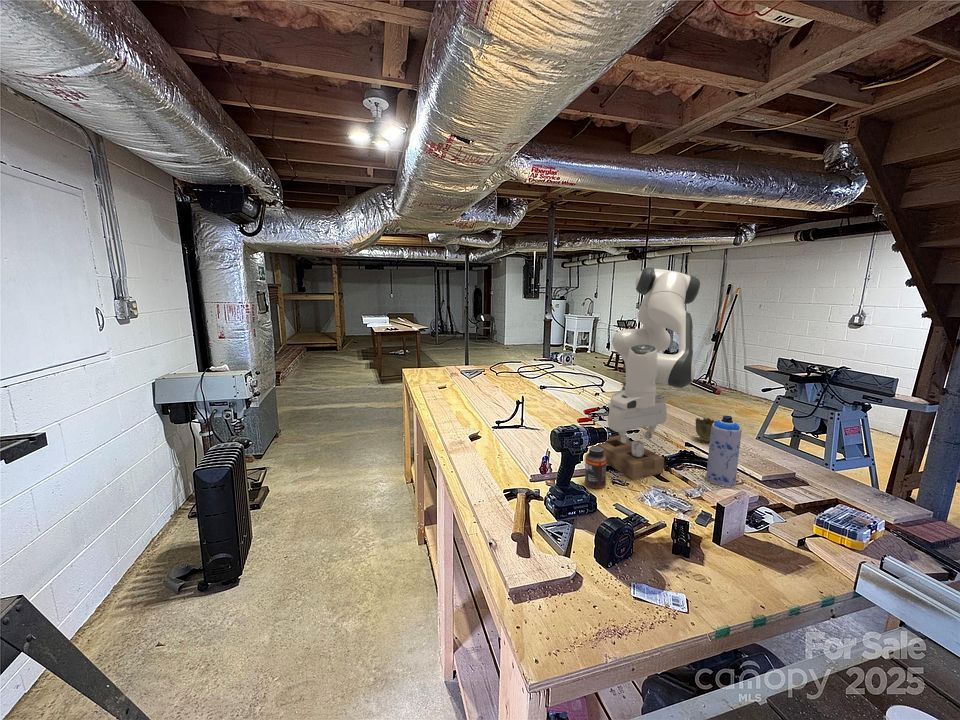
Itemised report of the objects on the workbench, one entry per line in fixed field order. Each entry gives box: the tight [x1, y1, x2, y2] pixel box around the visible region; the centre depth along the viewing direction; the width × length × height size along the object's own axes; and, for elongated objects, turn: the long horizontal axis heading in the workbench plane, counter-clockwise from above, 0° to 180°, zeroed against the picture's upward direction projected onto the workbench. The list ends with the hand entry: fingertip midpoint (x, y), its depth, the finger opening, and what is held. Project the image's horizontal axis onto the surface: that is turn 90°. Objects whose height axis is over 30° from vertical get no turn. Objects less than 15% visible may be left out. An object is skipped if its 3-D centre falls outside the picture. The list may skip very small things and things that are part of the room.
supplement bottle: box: [584, 445, 607, 490], centre depth 111 cm, size 6×6×11 cm
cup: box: [695, 417, 717, 443], centre depth 142 cm, size 8×7×8 cm
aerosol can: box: [705, 415, 743, 487], centre depth 112 cm, size 8×8×20 cm
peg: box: [631, 440, 645, 459], centre depth 121 cm, size 4×4×9 cm
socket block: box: [596, 434, 665, 481], centre depth 125 cm, size 20×12×5 cm, turn 21°
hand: (636, 440), depth 120 cm, fingers open, 8 cm apart
